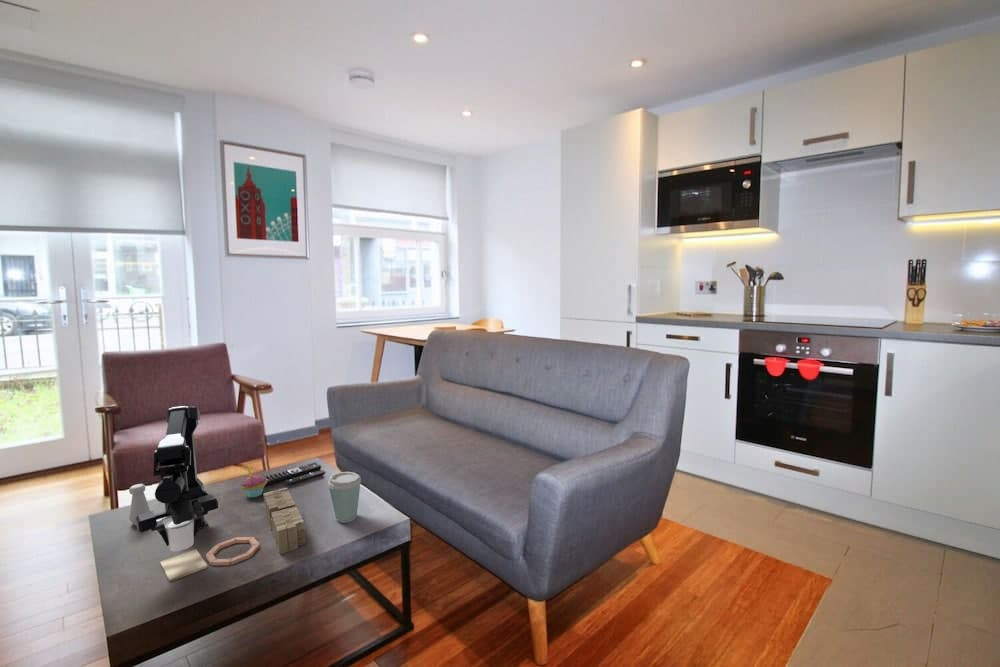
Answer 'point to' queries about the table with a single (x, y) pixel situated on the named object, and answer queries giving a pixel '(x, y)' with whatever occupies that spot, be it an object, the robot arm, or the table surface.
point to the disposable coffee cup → (345, 495)
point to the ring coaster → (234, 560)
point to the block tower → (284, 520)
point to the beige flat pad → (183, 565)
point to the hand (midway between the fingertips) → (181, 540)
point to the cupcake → (253, 484)
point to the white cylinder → (180, 535)
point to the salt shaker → (138, 502)
